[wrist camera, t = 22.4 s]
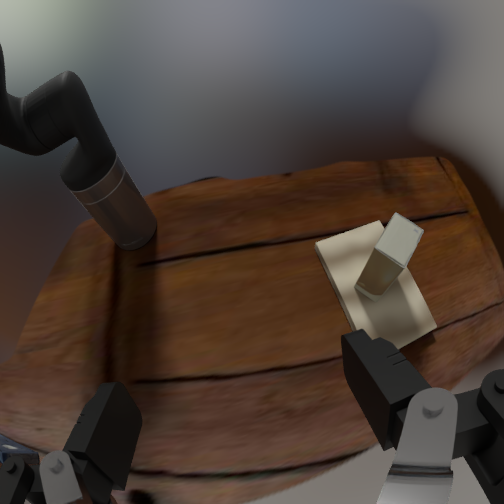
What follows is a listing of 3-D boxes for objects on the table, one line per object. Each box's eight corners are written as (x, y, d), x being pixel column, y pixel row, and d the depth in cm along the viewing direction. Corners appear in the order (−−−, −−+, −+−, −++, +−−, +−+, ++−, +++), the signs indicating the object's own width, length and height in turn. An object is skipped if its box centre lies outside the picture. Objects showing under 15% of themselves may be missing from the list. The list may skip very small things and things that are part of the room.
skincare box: (372, 257, 42) (396, 209, 31) (395, 272, 40) (425, 228, 29) (351, 288, 40) (373, 246, 29) (375, 305, 38) (405, 268, 27)
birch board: (314, 249, 46) (315, 242, 44) (376, 227, 46) (379, 220, 45) (367, 364, 36) (371, 363, 34) (431, 330, 36) (437, 326, 35)
